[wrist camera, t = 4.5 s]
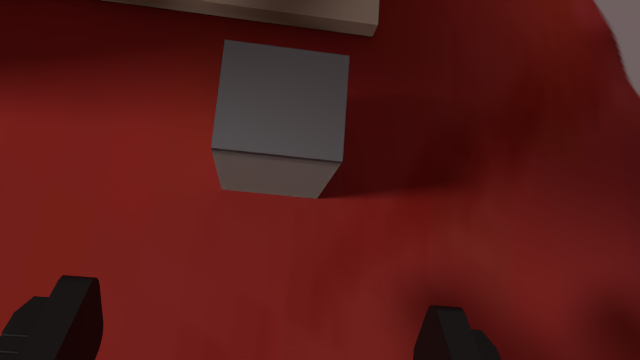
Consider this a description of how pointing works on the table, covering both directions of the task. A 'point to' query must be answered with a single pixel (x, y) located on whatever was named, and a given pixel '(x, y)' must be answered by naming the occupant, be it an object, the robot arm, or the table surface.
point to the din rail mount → (284, 12)
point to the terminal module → (279, 119)
